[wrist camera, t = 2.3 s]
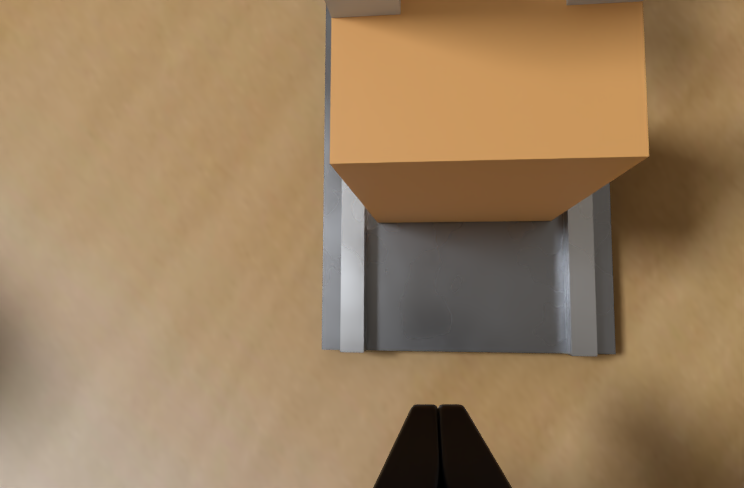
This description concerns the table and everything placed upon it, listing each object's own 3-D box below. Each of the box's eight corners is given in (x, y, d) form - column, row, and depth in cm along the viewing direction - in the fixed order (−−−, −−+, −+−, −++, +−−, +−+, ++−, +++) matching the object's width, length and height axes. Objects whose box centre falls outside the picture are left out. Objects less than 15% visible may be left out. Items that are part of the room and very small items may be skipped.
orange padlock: (551, 221, 19) (1046, -106, 4) (377, 222, 20) (161, -44, 4) (548, 107, 20) (986, -635, 4) (378, 113, 20) (179, -499, 5)
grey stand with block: (606, 351, 20) (1126, 521, 5) (327, 346, 21) (53, 473, 6) (590, -127, 21) (941, -1094, 6) (332, -106, 22) (129, -886, 8)
